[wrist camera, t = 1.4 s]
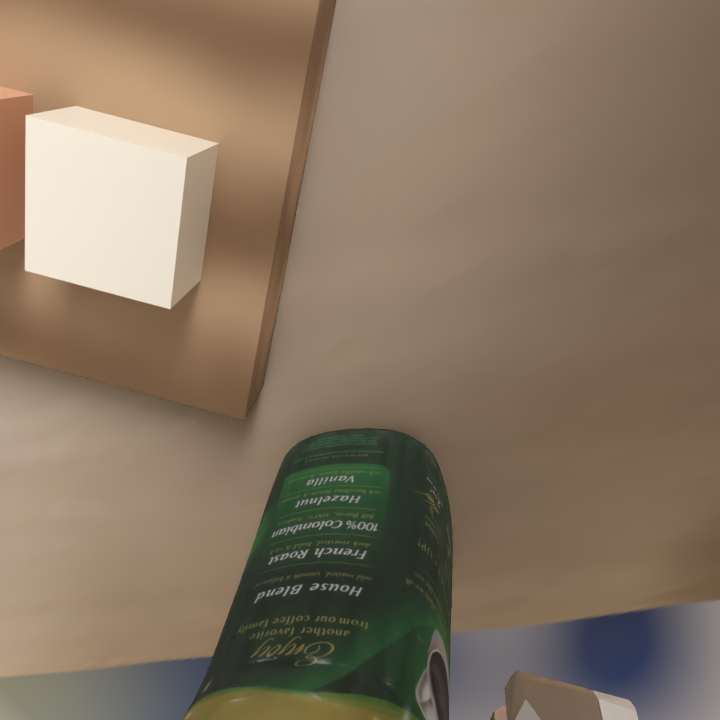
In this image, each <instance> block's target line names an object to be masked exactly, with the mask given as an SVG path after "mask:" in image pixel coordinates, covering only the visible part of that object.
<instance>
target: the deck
mask: <svg viewBox="0 0 720 720" xmlns="http://www.w3.org/2000/svg"><path fill="white" fill-rule="evenodd" d="M335 3H336V0H0V86H3V87H6V88H10V89H14V90H18V91H22V92H25V93H29V94H33V114H35V113H41V112H46V111H51V110H57V109H62V108H67V107H72V106H79V107H82V108H86V109H90V110H94V111H98V112H101V113H105V114H109V115H113V116H117V117H120V118H124V119H128V120H132V121H136V122H139V123H143V124H147V125H151V126H155V127H158V128H162V129H166V130H170V131H174V132H177V133H181V134H185V135H189V136H193V137H196V138H200V139H204V140H208V141H212V142H215V143H219V145H218V153H217V160H216V168H215V176H214V183H213V191H212V199H211V206H210V214H209V222H208V229H207V237H206V244H205V252H204V260H203V267H202V275H201V280H200V281H199V282H198V283H197V284H196V285H195V286H194V287H193V288H192V289H191V290H190V291H189V292H188V293H187V294H186V295H185V296H184V297H183V298H181V299H180V300H179V301H178V302H177V303H176V304H175V305H174V306H173V307H172V308H171V309H167V308H164V307H160V306H156V305H152V304H149V303H145V302H141V301H137V300H134V299H130V298H126V297H122V296H119V295H115V294H111V293H107V292H104V291H100V290H96V289H92V288H89V287H85V286H81V285H77V284H74V283H70V282H66V281H62V280H59V279H55V278H51V277H47V276H44V275H40V274H36V273H32V272H29V271H25V239H22V240H20V241H18V242H16V243H14V244H12V245H10V246H8V247H5V248H3V249H1V250H0V355H2V356H6V357H10V358H13V359H17V360H21V361H25V362H28V363H32V364H36V365H39V366H43V367H47V368H51V369H54V370H58V371H62V372H65V373H69V374H73V375H77V376H80V377H84V378H88V379H92V380H95V381H99V382H103V383H106V384H110V385H114V386H118V387H121V388H125V389H129V390H132V391H136V392H140V393H144V394H147V395H151V396H155V397H158V398H162V399H166V400H170V401H173V402H177V403H181V404H184V405H188V406H192V407H196V408H199V409H203V410H207V411H211V412H214V413H218V414H222V415H225V416H229V417H233V418H237V419H240V420H245V418H246V416H247V414H248V412H249V411H250V409H251V407H252V405H253V403H254V401H255V400H256V398H257V396H258V394H259V392H260V391H261V389H262V387H263V383H264V378H265V373H266V367H267V362H268V357H269V352H270V346H271V341H272V336H273V330H274V325H275V320H276V315H277V309H278V304H279V299H280V293H281V288H282V283H283V278H284V272H285V267H286V262H287V257H288V251H289V246H290V241H291V235H292V230H293V225H294V220H295V214H296V209H297V204H298V198H299V193H300V188H301V183H302V177H303V172H304V167H305V161H306V156H307V151H308V146H309V140H310V135H311V130H312V125H313V119H314V114H315V109H316V103H317V98H318V93H319V88H320V82H321V77H322V72H323V66H324V61H325V56H326V51H327V45H328V40H329V35H330V30H331V24H332V19H333V14H334V8H335Z"/></svg>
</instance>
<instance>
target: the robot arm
mask: <svg viewBox="0 0 720 720" xmlns="http://www.w3.org/2000/svg"><path fill="white" fill-rule="evenodd" d="M505 697H506V705H505V706H503V707H501V708H499V709H496V710H494V712H493V715H492V717H491V719H490V720H638V716H637V713H636V709H635V707H634V706H633V704H632V703H631V702H630V701H629V700H627V699H623V698H619V697H616V696H611V695H608V694H604V693H600V692H596V691H593V690H588V689H587V688H583V687H579V686H575V685H571V684H567V683H564V682H559V681H556V680H552V679H548V678H544V677H540V676H537V675H533V674H529V673H525V672H521V671H516V672H515V673H514V674H513V675H512V676H511V677H510V679H509V681H508V683H507V685H506V687H505Z"/></svg>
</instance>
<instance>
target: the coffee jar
mask: <svg viewBox="0 0 720 720" xmlns="http://www.w3.org/2000/svg"><path fill="white" fill-rule="evenodd" d="M452 559H453V543H452V523H451V515H450V508H449V501H448V496H447V491H446V488H445V484H444V480H443V477H442V474H441V471H440V468H439V466H438V463H437V461H436V459H435V458H434V456H433V454H432V453H431V452H430V451H429V450H428V449H427V448H426V447H425V446H424V445H423V444H422V443H421V442H419V441H417V440H416V439H414V438H412V437H410V436H408V435H406V434H403V433H400V432H397V431H392V430H385V429H371V428H369V429H346V430H338V431H331V432H326V433H322V434H318V435H315V436H311V437H309V438H307V439H305V440H303V441H301V442H299V443H298V444H296V445H295V446H294V447H293V448H292V449H291V450H290V451H289V452H288V453H287V455H286V456H285V458H284V460H283V462H282V464H281V467H280V469H279V472H278V474H277V477H276V479H275V482H274V485H273V487H272V490H271V493H270V496H269V499H268V501H267V504H266V507H265V510H264V513H263V516H262V520H261V523H260V526H259V529H258V532H257V535H256V538H255V541H254V544H253V547H252V550H251V553H250V556H249V559H248V561H247V564H246V567H245V570H244V573H243V575H242V578H241V581H240V584H239V587H238V589H237V592H236V595H235V597H234V600H233V603H232V606H231V609H230V611H229V614H228V617H227V620H226V623H225V625H224V628H223V631H222V633H221V636H220V639H219V642H218V644H217V647H216V650H215V652H214V655H213V658H212V660H211V663H210V666H209V668H208V671H207V673H206V675H205V678H204V680H203V682H202V684H201V686H200V689H199V691H198V693H197V695H196V697H195V699H194V701H193V703H192V704H191V706H190V708H189V709H188V711H187V712H186V714H185V715H184V717H183V718H182V720H449V681H450V680H449V679H450V626H451V606H452Z"/></svg>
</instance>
